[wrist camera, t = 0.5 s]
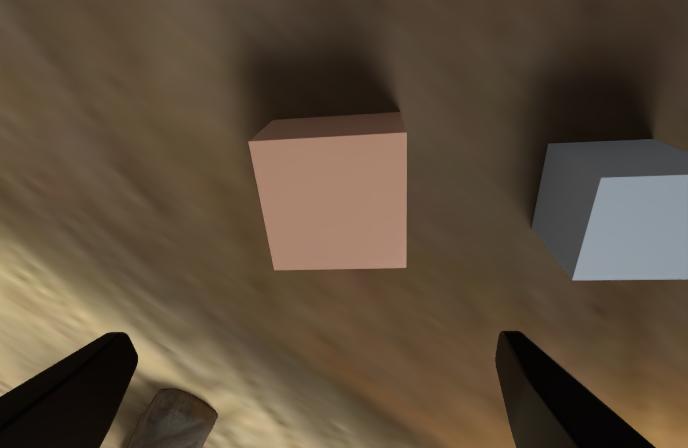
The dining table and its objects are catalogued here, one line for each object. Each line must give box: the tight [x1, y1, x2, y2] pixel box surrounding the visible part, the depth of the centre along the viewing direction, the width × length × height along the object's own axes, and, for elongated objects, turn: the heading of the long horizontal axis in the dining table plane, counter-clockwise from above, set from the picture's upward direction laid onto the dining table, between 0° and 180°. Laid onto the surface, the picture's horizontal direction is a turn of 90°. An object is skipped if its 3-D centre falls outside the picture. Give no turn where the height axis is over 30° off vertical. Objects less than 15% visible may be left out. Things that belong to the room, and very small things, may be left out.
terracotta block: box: [248, 112, 407, 270], centre depth 17 cm, size 6×6×4 cm
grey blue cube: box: [531, 139, 688, 280], centre depth 16 cm, size 4×4×4 cm
